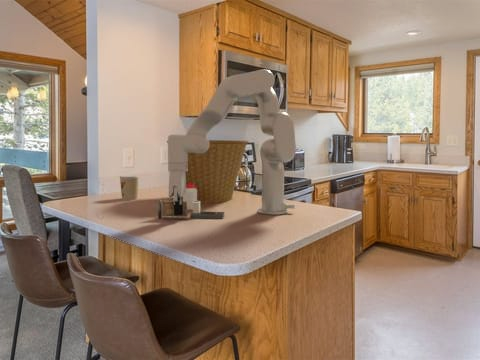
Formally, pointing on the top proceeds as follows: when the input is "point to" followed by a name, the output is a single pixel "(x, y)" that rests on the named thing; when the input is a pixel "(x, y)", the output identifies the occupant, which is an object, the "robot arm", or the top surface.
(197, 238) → the top surface
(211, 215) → the board
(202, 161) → the basket
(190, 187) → the pill bottle
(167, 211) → the door
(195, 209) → the fader cap
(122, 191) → the coffee cup
